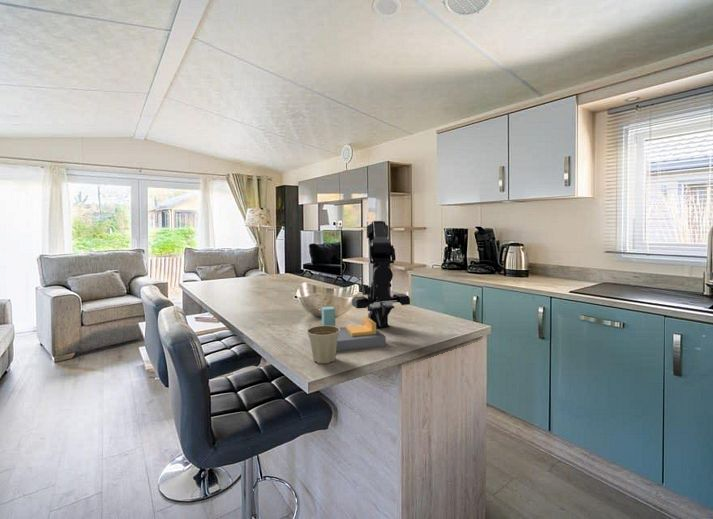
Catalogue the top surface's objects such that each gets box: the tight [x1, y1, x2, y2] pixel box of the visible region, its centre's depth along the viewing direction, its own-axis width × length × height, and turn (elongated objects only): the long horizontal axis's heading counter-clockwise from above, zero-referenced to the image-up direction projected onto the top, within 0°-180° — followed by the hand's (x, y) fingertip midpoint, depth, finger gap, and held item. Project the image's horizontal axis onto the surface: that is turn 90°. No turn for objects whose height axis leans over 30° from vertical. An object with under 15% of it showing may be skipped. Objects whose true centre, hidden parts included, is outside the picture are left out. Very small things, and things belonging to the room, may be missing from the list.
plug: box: [321, 306, 336, 327], centre depth 128 cm, size 4×4×9 cm
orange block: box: [344, 316, 377, 336], centre depth 119 cm, size 8×8×4 cm
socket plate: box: [336, 326, 386, 352], centre depth 118 cm, size 20×14×3 cm
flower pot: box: [306, 325, 341, 364], centre depth 102 cm, size 9×9×9 cm
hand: (381, 326), depth 121 cm, fingers closed
